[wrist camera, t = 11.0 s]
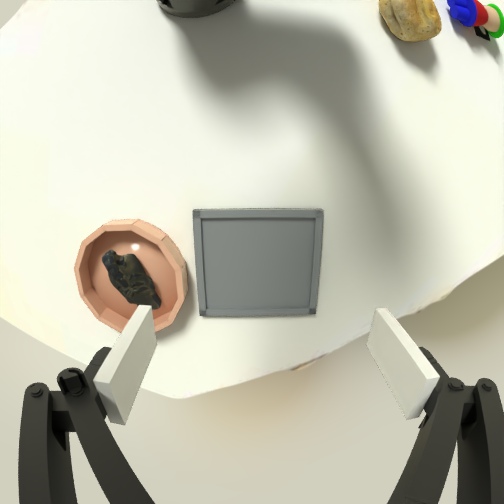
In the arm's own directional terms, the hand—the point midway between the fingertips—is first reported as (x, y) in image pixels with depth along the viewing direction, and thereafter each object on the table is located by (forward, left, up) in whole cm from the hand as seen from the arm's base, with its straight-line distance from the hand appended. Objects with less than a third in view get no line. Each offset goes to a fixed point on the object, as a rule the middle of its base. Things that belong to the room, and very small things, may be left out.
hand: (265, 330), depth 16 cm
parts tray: (+8, +1, -32) cm, 33 cm away
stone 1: (+10, -20, -32) cm, 39 cm away
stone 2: (-39, +27, -32) cm, 58 cm away
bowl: (+10, -21, -32) cm, 40 cm away
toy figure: (-47, +47, -32) cm, 74 cm away
